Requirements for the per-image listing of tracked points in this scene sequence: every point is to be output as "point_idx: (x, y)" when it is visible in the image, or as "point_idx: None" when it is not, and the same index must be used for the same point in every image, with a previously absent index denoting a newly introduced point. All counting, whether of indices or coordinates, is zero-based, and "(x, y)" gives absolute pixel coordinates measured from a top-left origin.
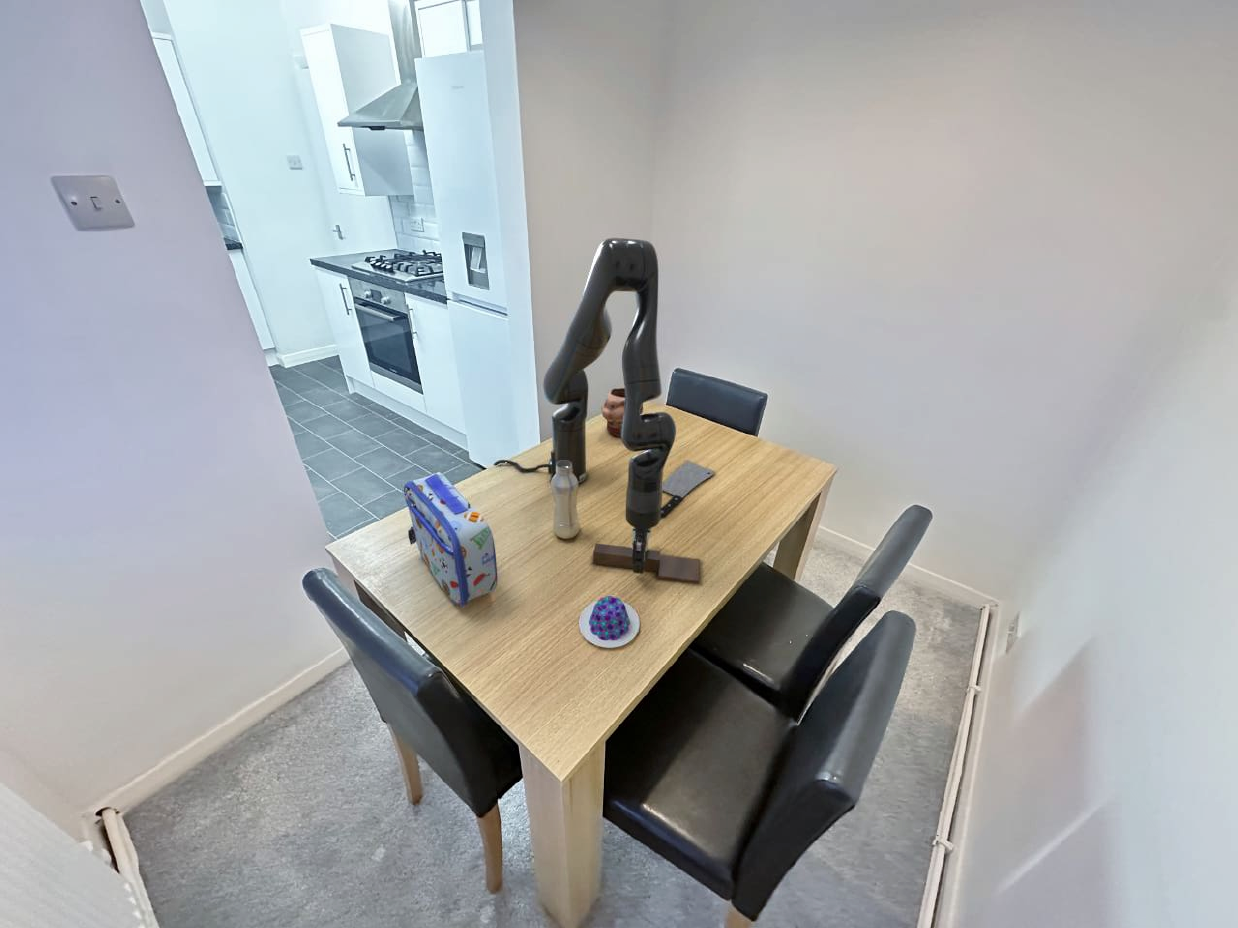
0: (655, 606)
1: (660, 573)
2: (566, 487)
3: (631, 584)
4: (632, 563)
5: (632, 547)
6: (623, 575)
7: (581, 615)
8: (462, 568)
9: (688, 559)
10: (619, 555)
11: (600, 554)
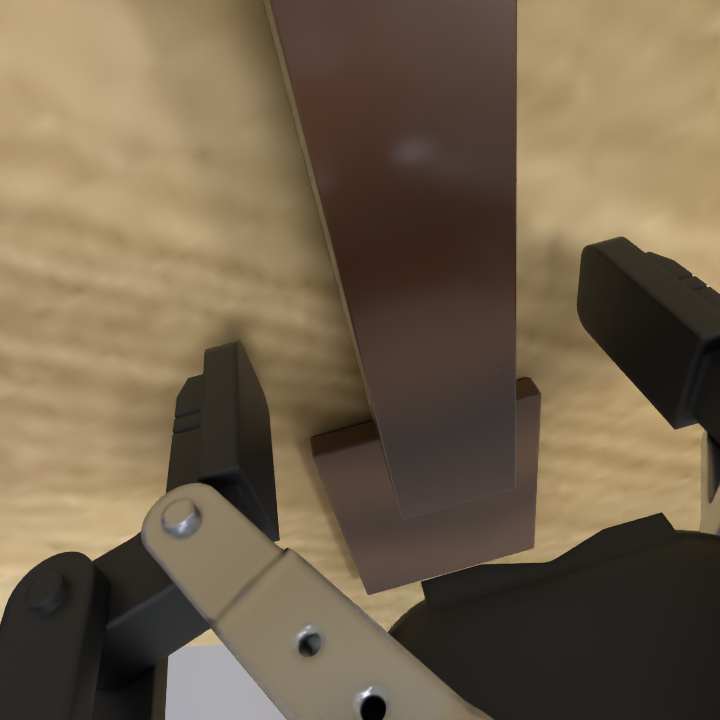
0: (48, 512)
1: (340, 460)
2: None
3: (132, 316)
4: (8, 611)
5: (228, 649)
6: (197, 206)
7: None
8: None
9: (522, 518)
10: (313, 172)
11: None
